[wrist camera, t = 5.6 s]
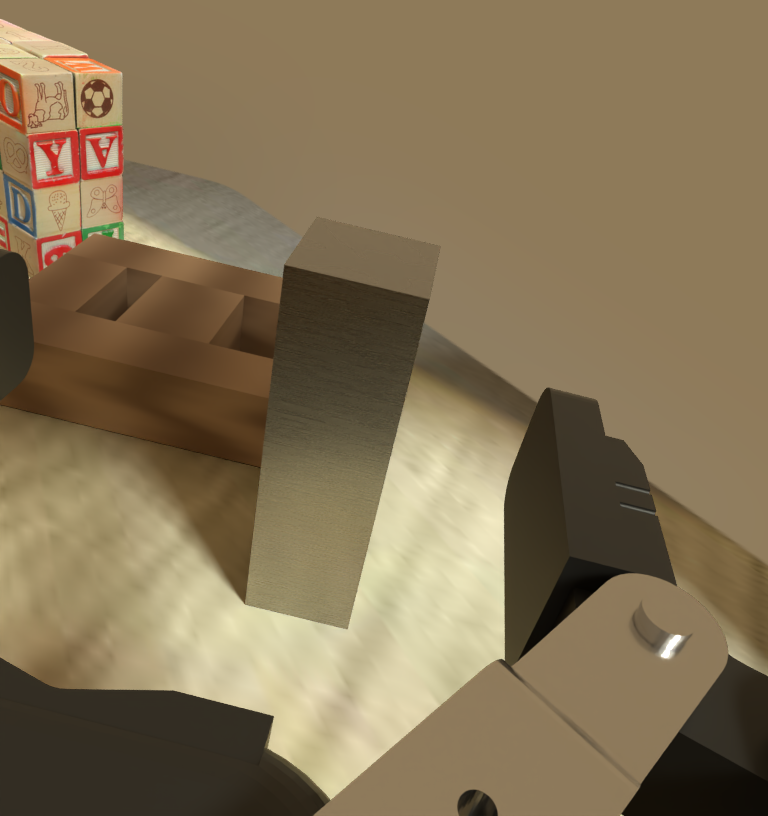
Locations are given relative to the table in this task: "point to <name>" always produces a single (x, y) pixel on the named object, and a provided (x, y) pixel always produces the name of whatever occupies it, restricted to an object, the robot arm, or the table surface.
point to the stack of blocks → (57, 147)
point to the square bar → (334, 412)
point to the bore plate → (153, 347)
